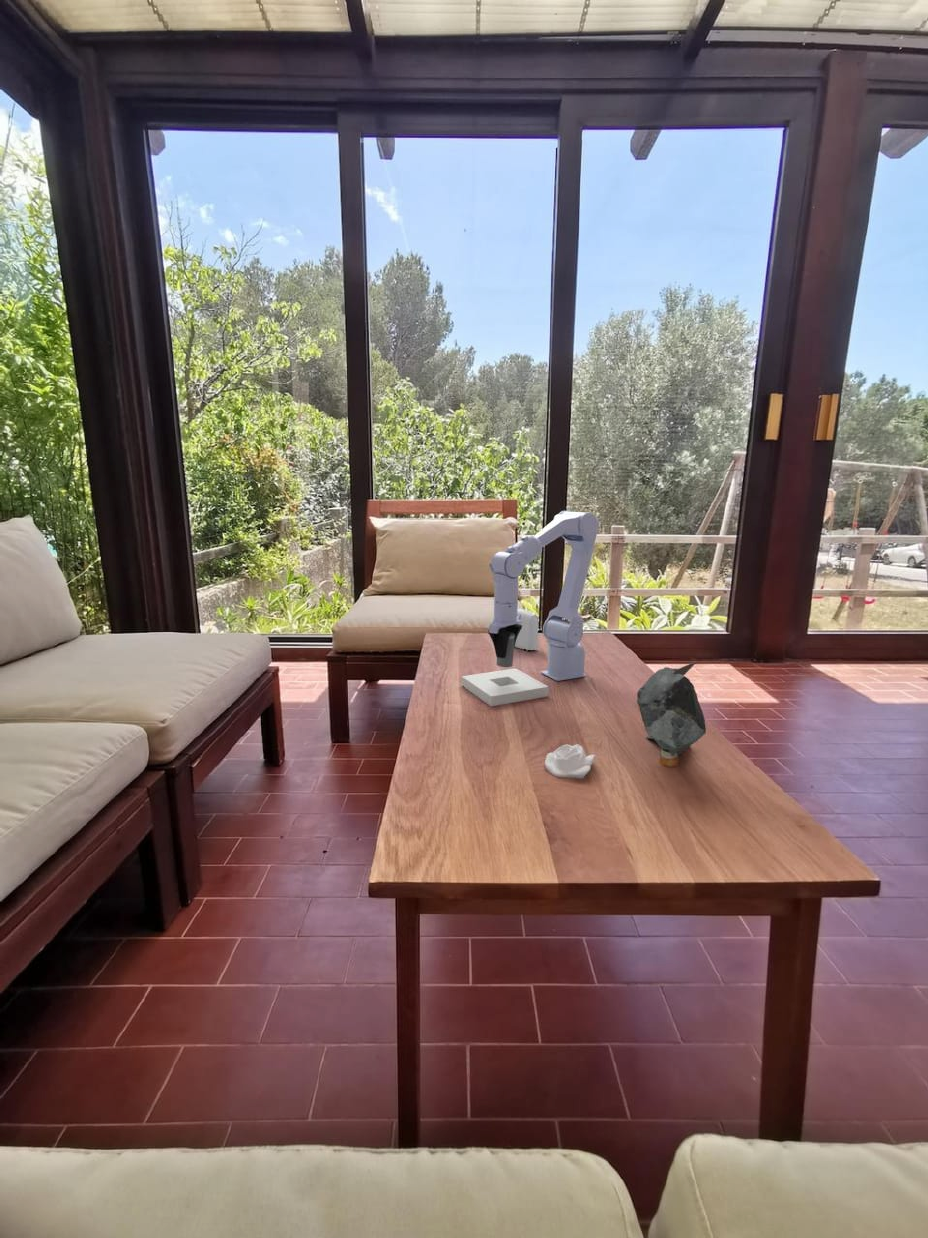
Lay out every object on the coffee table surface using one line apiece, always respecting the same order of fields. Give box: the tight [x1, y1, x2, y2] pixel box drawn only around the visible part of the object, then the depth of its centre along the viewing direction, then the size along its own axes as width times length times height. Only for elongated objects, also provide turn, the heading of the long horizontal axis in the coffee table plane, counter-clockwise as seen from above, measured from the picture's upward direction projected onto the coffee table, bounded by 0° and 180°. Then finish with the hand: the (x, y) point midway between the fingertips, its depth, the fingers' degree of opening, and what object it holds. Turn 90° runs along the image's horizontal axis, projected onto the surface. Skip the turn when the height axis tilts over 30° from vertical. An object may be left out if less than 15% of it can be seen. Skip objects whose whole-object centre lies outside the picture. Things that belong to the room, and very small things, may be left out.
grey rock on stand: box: [636, 660, 707, 768], centre depth 112 cm, size 14×15×18 cm
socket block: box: [461, 668, 550, 707], centre depth 149 cm, size 16×16×2 cm
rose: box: [544, 743, 597, 779], centre depth 110 cm, size 10×4×10 cm
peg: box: [496, 633, 515, 668], centre depth 147 cm, size 4×4×8 cm
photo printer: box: [514, 608, 539, 651], centre depth 187 cm, size 10×4×12 cm, turn 39°
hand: (504, 655), depth 148 cm, fingers closed on peg, 4 cm apart
